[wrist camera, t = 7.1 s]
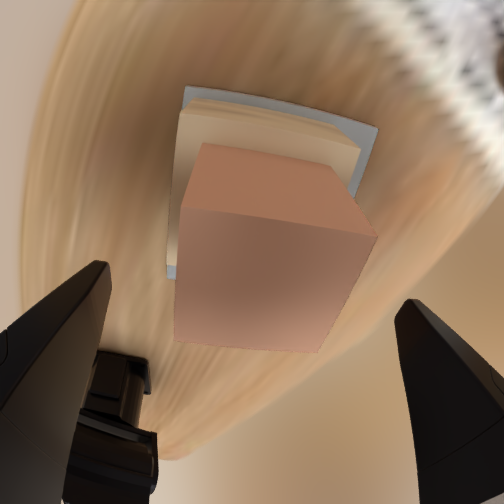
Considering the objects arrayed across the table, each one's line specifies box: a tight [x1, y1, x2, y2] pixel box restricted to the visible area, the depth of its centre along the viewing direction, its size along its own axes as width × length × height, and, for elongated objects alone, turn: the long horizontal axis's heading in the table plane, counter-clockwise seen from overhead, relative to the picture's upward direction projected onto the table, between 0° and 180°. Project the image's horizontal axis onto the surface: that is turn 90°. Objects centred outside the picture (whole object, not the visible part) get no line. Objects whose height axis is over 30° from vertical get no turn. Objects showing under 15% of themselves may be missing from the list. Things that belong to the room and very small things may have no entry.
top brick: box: [174, 143, 378, 353], centre depth 11 cm, size 5×5×5 cm
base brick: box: [166, 97, 361, 266], centre depth 14 cm, size 7×7×4 cm
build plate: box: [167, 85, 379, 280], centre depth 18 cm, size 12×10×1 cm
